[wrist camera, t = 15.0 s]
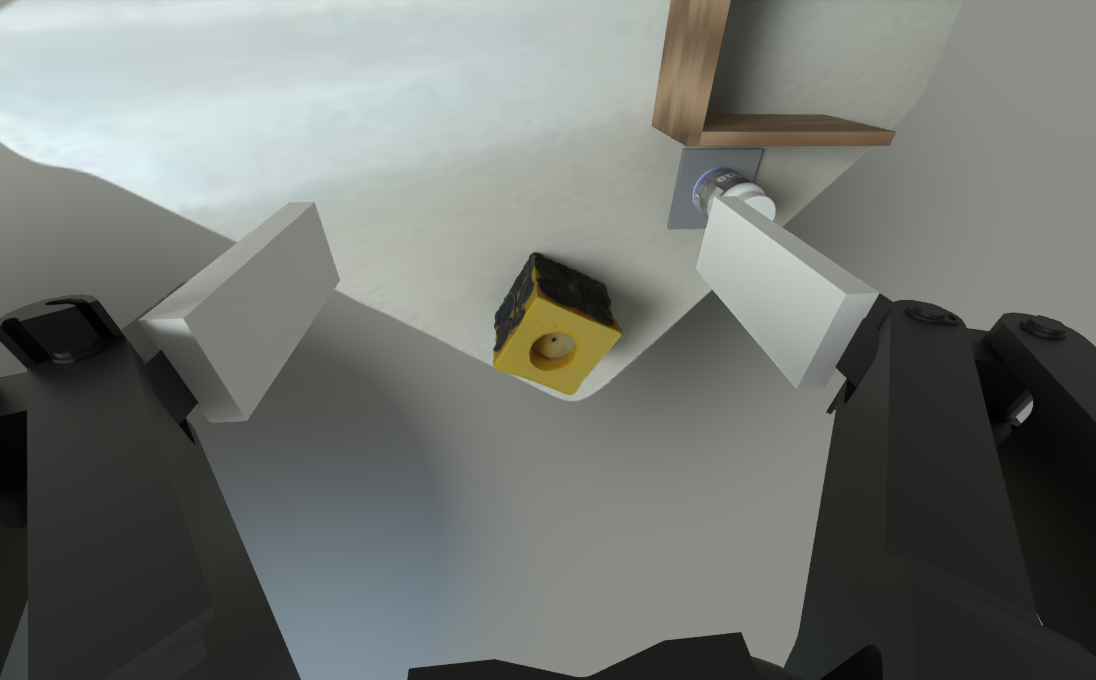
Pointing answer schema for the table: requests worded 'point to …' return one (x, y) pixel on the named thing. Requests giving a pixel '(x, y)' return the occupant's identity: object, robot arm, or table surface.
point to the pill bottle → (730, 191)
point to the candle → (553, 326)
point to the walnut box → (689, 85)
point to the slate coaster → (694, 168)
